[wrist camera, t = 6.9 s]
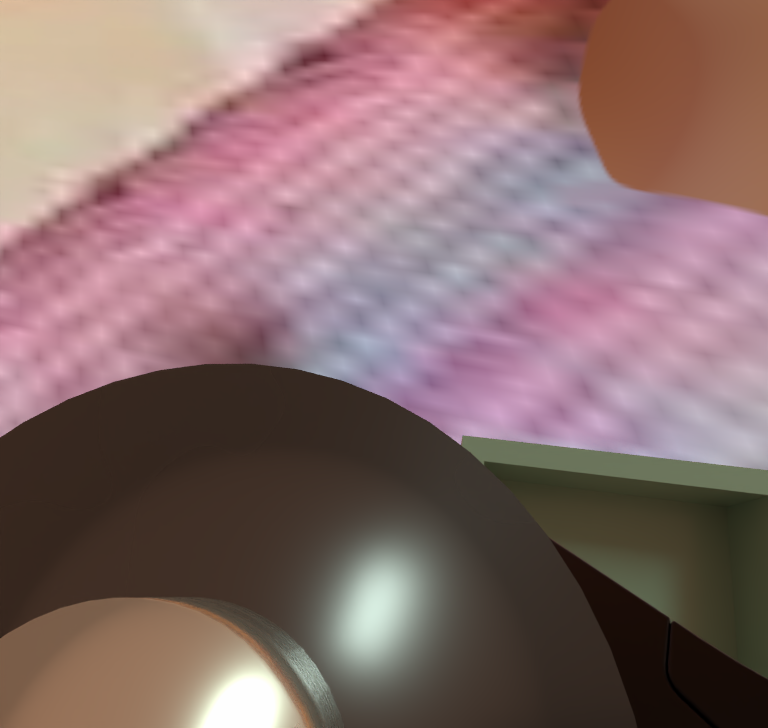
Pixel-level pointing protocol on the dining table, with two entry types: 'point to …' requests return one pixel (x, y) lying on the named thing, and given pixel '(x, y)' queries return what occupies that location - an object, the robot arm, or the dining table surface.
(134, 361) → the dining table surface
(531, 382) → the dining table surface
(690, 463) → the cup
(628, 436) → the dining table surface
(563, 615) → the battery cell
